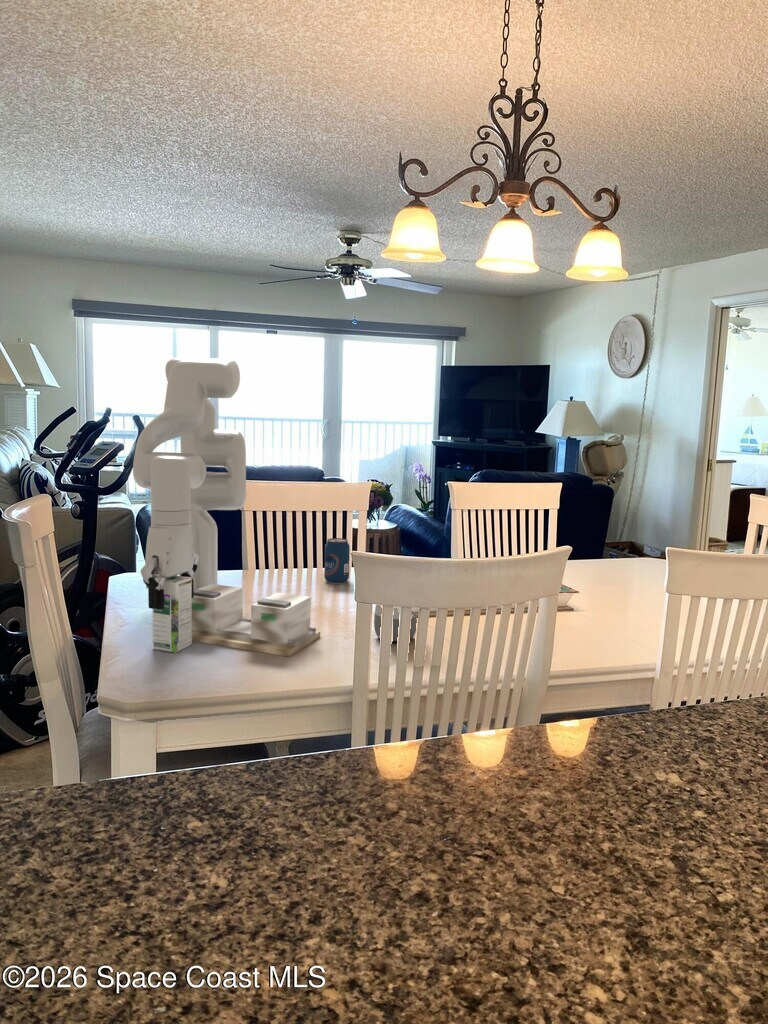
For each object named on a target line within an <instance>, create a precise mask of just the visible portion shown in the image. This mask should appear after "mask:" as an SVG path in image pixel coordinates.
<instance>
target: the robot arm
mask: <svg viewBox="0 0 768 1024" xmlns="http://www.w3.org/2000/svg"><path fill="white" fill-rule="evenodd" d="M164 370H165V372H164V373H165V378H166V381H167V385H166V392H165V398H164V405H163V406H164V407H163V412H162V413H160V414H159V415H157V416H156V417H154V418H153V419H152V420H150V422H149V423H148V424H147V425H146V426H145V427H144V428H143V429H142V431H141V433H140V434H139V435H138V438H137V441H136V445H135V451H134V457H133V464H132V476H133V479H134V481H135V483H136V485H137V486H138V487H140V488H144V489H150V524H151V525H150V526H149V528H148V533H147V537H146V546H145V547H146V548H145V564H144V566H142V568H140V574H141V577H142V581H143V583H144V584H145V587H146V589H148V590H147V591H148V593H147V595H148V608H149V609H152V610H153V609H159V610H162V609H164V589H161V588H162V586H163V583H164V581H165V579H166V578H170V577H173V576H183V577H191V578H192V598H193V597H194V589H199V588H202V587H205V586H207V585H210V584H216V585H218V526H217V523H216V521H215V519H214V518H213V517H212V515H211V514H210V513H209V512H208V511H214V510H215V511H216V510H217V511H237V510H240V509H242V508H243V507H244V505H245V502H246V498H247V497H246V496H247V455H246V454H247V452H246V450H247V449H246V441H245V437H244V436H243V434H242V432H240V431H238V430H236V429H228V428H227V429H226V428H217V427H216V409H215V407H214V405H213V403H212V402H211V400H210V399H231V398H233V396H234V395H235V394H236V393H237V392H238V389H239V386H240V382H241V381H240V380H241V373H240V368H239V365H238V364H237V362H236V360H234V359H230V358H209V357H208V358H207V357H192V356H191V357H189V356H187V357H174V358H171V359H170V360H168V361H167V362H166V364H165V369H164ZM176 438H179V439H180V445H179V446H180V452H166V451H160V452H158V451H155V450H156V449H157V448H158V447H159V446H160V445H162V444H163V443H166V442H168V441H171V440H174V439H176ZM210 467H211V468H225V469H226V470H227V472H219V471H218V472H215V471H207V468H210ZM156 578H159V580H158V582H157V581H156V580H155V579H156Z"/></svg>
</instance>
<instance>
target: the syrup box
mask: <svg viewBox="0 0 768 1024" xmlns="http://www.w3.org/2000/svg"><path fill="white" fill-rule="evenodd" d="M155 580H156V581H157V582H158V580H159V578H156V579H155ZM161 589H164V609H162V610H159V609H152V649H153V650H157V651H158V650H159V651H164V652H170V653H175V654H176V653H178V652H180V651H183V650H185V649H186V648H188V647H190V646H191V645H192V644H193V641H192V578H191V577H183V576H179V575H178V576H173V577H170V578H166V579H165V581H164V583H163V586H162V588H161Z"/></svg>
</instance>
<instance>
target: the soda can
mask: <svg viewBox="0 0 768 1024" xmlns="http://www.w3.org/2000/svg"><path fill="white" fill-rule="evenodd" d="M348 541H349V540H348V539H346V538H341V537H339V538H338V537H335V538H334V537H332V538H328V539H327V541H326V544H324V579H325V581H326V583H328V584H332V585H341V584H346V583H347V582H348V580H349V579H350V555H351V553H350V550H351V549H350V548H351V546H350V544H349V542H348Z"/></svg>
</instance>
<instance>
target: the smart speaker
mask: <svg viewBox="0 0 768 1024" xmlns="http://www.w3.org/2000/svg"><path fill="white" fill-rule="evenodd" d="M381 614H382V608H381V606H380V605H376V604H375V609H374V617H373V619H374V620H373V628H374V632H375V634H376V636H377V638H379V636H380V627H381ZM416 623H417V624H418V618H417V619H416V617H415V616H412V619H411V629H410V640H412V639H413V638H414V637H415V634H416V633H417V629H416ZM398 627H399V612H398V609H397V608H394V615H393V644H394V643H395V644H397V637H398Z"/></svg>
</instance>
